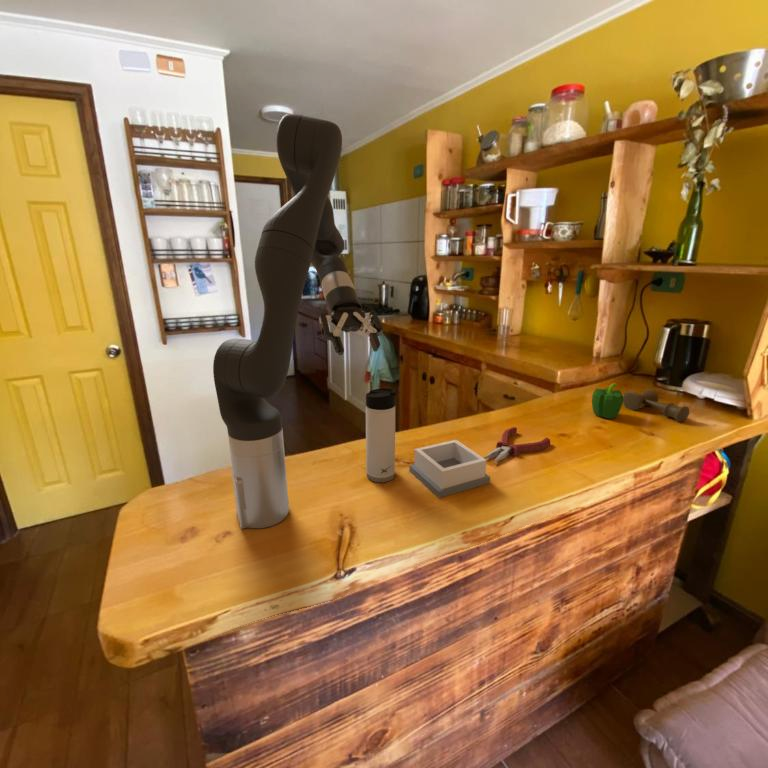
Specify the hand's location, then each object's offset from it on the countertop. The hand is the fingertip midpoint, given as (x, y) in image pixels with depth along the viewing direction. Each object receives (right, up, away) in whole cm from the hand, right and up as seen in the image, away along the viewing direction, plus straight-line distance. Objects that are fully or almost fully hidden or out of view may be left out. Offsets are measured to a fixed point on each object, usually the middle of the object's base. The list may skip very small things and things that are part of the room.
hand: (359, 351), depth 93 cm
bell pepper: (+72, -17, +32) cm, 81 cm away
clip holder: (+20, -28, -2) cm, 34 cm away
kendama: (+89, -16, +36) cm, 97 cm away
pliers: (+37, -24, +12) cm, 46 cm away
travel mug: (+5, -28, -2) cm, 28 cm away
